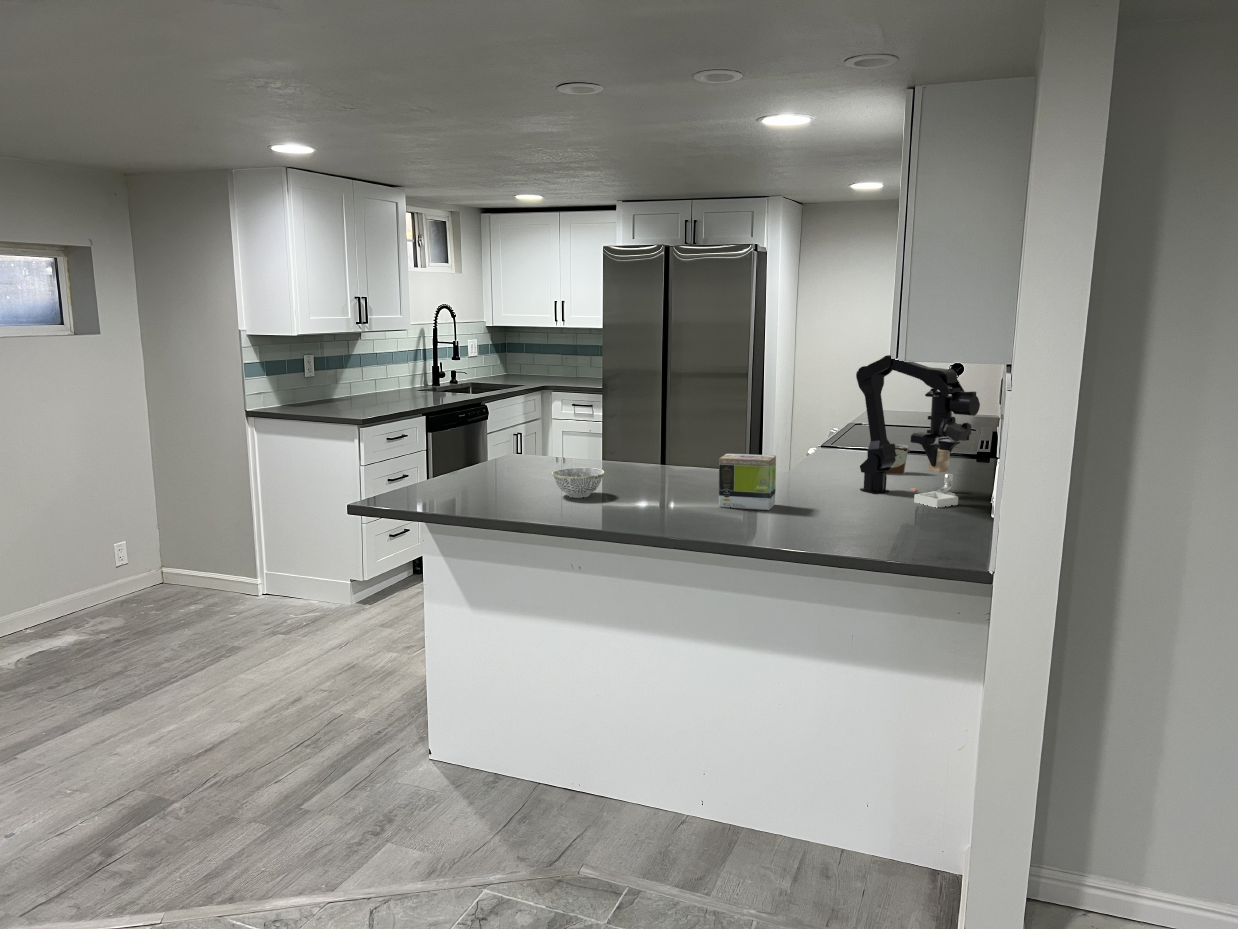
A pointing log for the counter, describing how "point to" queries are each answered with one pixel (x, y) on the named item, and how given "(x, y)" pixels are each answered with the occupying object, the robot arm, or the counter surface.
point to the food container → (899, 460)
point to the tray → (936, 499)
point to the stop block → (941, 462)
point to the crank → (946, 484)
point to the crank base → (934, 491)
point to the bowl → (578, 480)
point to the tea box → (747, 481)
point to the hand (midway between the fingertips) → (938, 465)
